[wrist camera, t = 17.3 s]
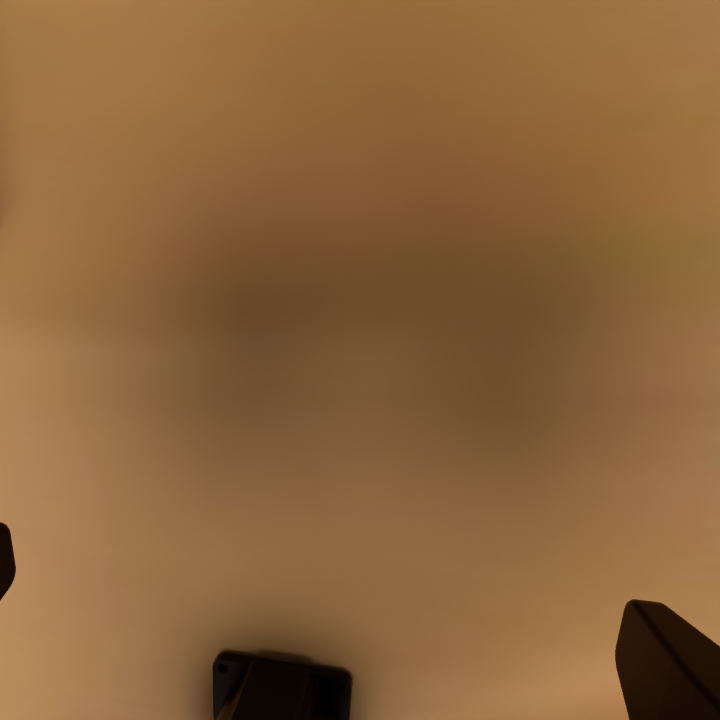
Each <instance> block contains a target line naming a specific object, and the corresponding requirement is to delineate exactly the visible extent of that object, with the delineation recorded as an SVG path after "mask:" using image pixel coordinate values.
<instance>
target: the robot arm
mask: <svg viewBox="0 0 720 720" xmlns="http://www.w3.org/2000/svg"><path fill="white" fill-rule="evenodd" d="M15 572H16V566H15V559H14V553H13V546H12V540H11V533H10V530H9V528H8V527H7V525H6V524H4V523H1V522H0V600H1V599H2V598H3V596H4V595H5V593H6V592H7V591H8V589H9V588H10V586H11V584H12V582H13V580H14V577H15ZM615 661H616V668H617V672H618V676H619V680H620V684H621V688H622V692H623V696H624V700H625V704H626V708H627V712H628V716H629V720H720V646H718V645H717V644H716V643H714V642H713V641H712V640H711V639H709V638H708V637H707V636H705V635H704V634H703V633H701V632H700V631H699V630H697V629H696V628H695V627H693V626H692V625H691V624H689V623H688V622H687V621H686V620H684V619H683V618H682V617H680V616H679V615H678V614H676V613H675V612H674V611H672V610H671V609H670V608H668V607H667V606H666V605H664V604H662V603H659V602H653V601H644V600H636V599H632V600H630V601H628V602H627V604H626V606H625V609H624V613H623V617H622V622H621V626H620V631H619V635H618V640H617V644H616V650H615ZM223 664H225V665H223ZM339 683H342V684H339ZM351 694H352V678H351V676H350V675H349V674H348V673H346V672H343V671H338V670H332V669H325V668H319V667H313V666H306V665H300V664H294V663H287V662H281V661H275V660H269V659H262V658H256V657H250V656H243V655H237V654H231V653H221V654H219V655H218V656H217V657H216V659H215V661H214V663H213V711H214V720H350V707H351Z"/></svg>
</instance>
